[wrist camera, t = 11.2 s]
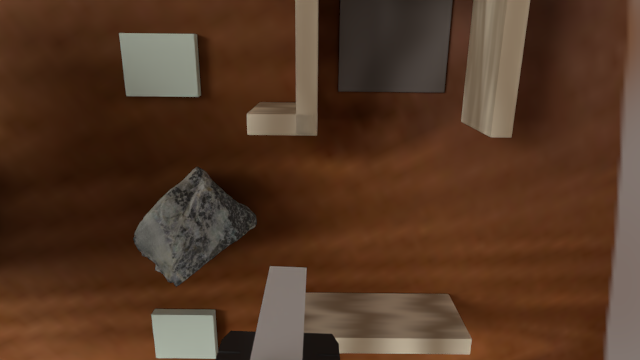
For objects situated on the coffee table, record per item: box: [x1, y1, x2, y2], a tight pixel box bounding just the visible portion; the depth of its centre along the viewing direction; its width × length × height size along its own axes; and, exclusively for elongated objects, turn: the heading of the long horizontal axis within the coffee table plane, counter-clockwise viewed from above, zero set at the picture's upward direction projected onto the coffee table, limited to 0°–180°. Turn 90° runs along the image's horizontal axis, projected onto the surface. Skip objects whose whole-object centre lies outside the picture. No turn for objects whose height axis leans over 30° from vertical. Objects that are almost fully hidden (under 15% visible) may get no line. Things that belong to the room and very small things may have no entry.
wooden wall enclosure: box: [247, 0, 530, 354], centre depth 36 cm, size 19×32×7 cm, turn 179°
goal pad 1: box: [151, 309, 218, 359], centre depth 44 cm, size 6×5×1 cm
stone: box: [133, 167, 257, 287], centre depth 38 cm, size 10×10×10 cm
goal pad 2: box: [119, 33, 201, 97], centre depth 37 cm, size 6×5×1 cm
